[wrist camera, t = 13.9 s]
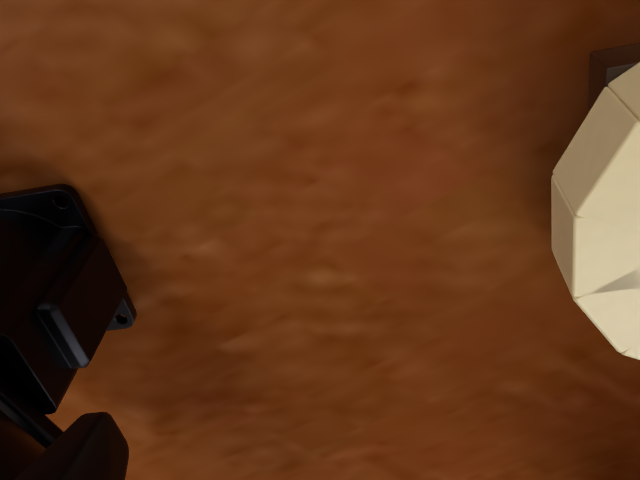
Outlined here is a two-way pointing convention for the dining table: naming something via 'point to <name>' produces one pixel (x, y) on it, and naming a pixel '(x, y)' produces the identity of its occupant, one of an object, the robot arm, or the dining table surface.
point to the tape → (603, 214)
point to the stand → (610, 67)
